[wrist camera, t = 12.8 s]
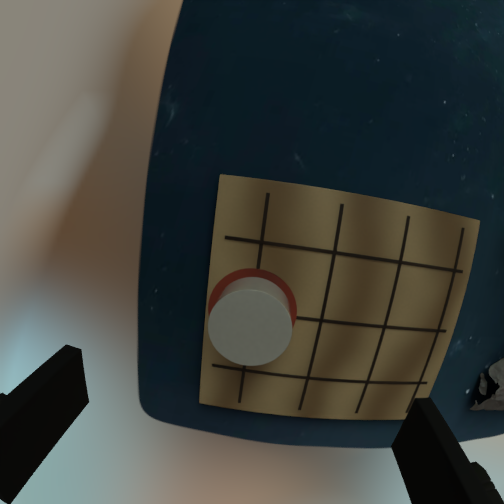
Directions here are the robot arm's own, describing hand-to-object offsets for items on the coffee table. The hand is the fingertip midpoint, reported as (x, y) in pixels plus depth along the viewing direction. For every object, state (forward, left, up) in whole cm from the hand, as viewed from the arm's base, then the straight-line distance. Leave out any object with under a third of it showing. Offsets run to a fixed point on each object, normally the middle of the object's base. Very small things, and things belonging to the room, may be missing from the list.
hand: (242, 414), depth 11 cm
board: (+8, -2, -18) cm, 20 cm away
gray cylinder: (0, -3, -16) cm, 17 cm away
